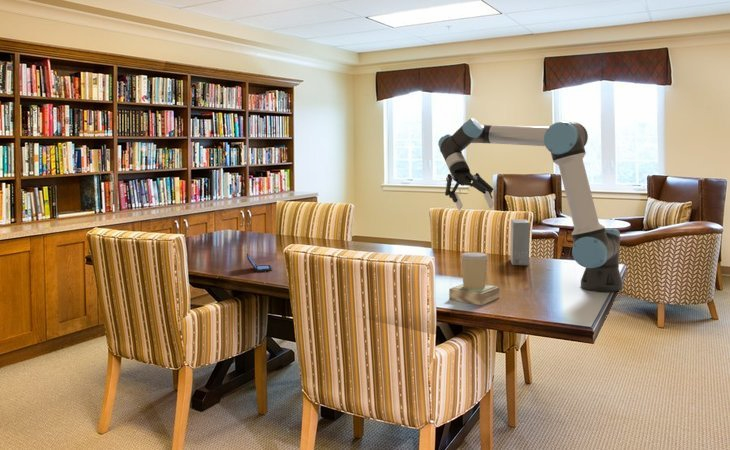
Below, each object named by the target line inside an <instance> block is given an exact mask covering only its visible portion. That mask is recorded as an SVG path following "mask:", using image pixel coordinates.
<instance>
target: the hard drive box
mask: <svg viewBox="0 0 730 450" xmlns="http://www.w3.org/2000/svg"><path fill="white" fill-rule="evenodd" d="M530 226H531V223H530V221H529V220H528V219H523V218H522V219H521V218H520V219H516V218H513V219H512V218H511V219H510V256H509V259H510V260H509V261H510V262H511V265H512V266H529V264H530V262H529V261H530V234H531V233H530V230H531V229H530Z"/></svg>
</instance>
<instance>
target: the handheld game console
mask: <svg viewBox="0 0 730 450" xmlns="http://www.w3.org/2000/svg"><path fill="white" fill-rule="evenodd" d="M246 258H247V260H248V262H249V263H250V264H251V266H252V267H253V269H254V272H255V273H256V272H257V273H265V272H264V271H271V272H272V266H271V265H270V264H262V265H261V264H260V265H257V264H255V262H254V260H253V259H252V258H251V256H250V255H249V253H246Z"/></svg>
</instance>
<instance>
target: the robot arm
mask: <svg viewBox="0 0 730 450" xmlns="http://www.w3.org/2000/svg"><path fill="white" fill-rule="evenodd" d="M588 140H589V135H588V131H587V129H586V127H585V126H583V125H582V124H580V123H579V122H575V121H567V120H562V121H556V122H554V123H553V124H551V125H549V126H531V125H529V126H527V125H494V124H492V125H491V124H481V123H480V122H479V121H477V119H475V118H470V119H468V120H467V121H465V122H463V124H462V125H461V126H460V127H459V128H458V129H457V130H456V131H455V132H454V133H453V134H445V135H444V136H441V137H440V138H439V140H438V141H437V142H438V143H437V145H438V148H439V151H440V153H441V155H442V157H443V159H444V162H445V165H446V166H447V168H448V171H449V173H447V176H446V177H445V178H446V179H445V181H446V186H445V193H444V194H445V196H447V197H449V198H450V199H452V201H453V203H455V205H456V207H457V209H458V211H461V209H462V208H463V206H464V205H463V203H462V201H461V198H460V196H459V194H458V192H456V191H457V190H458V187H459V185H460V186H470V187H473V188H474V189H475V190H478V192H480V193H482V194H484V195H483V197H484V200H485V202H486V203H487V205H488V207H489V208H488V209H492V208H493V207H494V205H495V202H494V200H493V198H494V197H493V195H492V192H493V191H494V187H492V186H491V185H490V184H489V183H488V182H487V181H485V180H484V179H483V178H482V176H481V175H480V174H479V173H478V172H476V173H475V174H472V173H471V169H470V167H469V165H468V163H467V161H466V160H467V159H465V156H464V154H463V151H464V150H465V149H466V148H467V147H469V145H471V144H494V145H496V144H497V145H511V146H512V145H515V146H518V145H519V146H530V147H531V146H532V147H533V146H534V147H536V146H537V147H545V148H546V149H547V150H548V151H549V152H550V155H551V158H552V163H553V164H556V165H557V166H558V168H559V172H560V173H559V174H560V177H561V180H562V185H563V188H564V192H565V196H566V201H567V204H568V205H567V206H568V208H569V213H570V215H571V220H572V224H573V228H574V229H573V230H572V232H571V238H572V243H573V246H572V248H571V249H572V250H571V255H572V257H573V259H574V261H575V262H576V263H577V265H580V266H581V267H583V268H584V271H583V274H582V277H581V278H580V279H581V280H580V287H581V288H582V289H585V290H588V291H591V292H592V291H593V292H594V291H595V292H603V293H604V292H605V293H610V292H619V291H623V290H624V282H623V279H622V275H621V272H620V269H619V267H620V266H619V265H620V248H621V247H620V246H621V245H620V243H621V241H620V240H621V232H620V230H618V229H615V228H605V226H604V225H602V224H601V222H599V219H598V214H597V210H596V206H595V202H594V198H593V194H592V191H591V185H590V183H589V179H588V175H587V170H586V167H585V163H584V157H585V155H586V154H587V152H586V149H585V146H586V145H587V143H588ZM452 181H454V182H455V185H454V186H453V188H452V190H451V187H452Z"/></svg>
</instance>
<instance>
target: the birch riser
mask: <svg viewBox="0 0 730 450" xmlns="http://www.w3.org/2000/svg"><path fill="white" fill-rule="evenodd" d="M448 295H449V297H448V298H449V299H448V300H450V301H454V302H455V301H456V302H461V303H466V304H472V305H478V306H483V305H485V304H489V303H490V302H493V301H495V300H497V299H500V287H499V286H495V285H489V284H485V288H483V289H466V288H464V287H463V283H462V284H459V285H456V286H453V287H449V293H448Z"/></svg>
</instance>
